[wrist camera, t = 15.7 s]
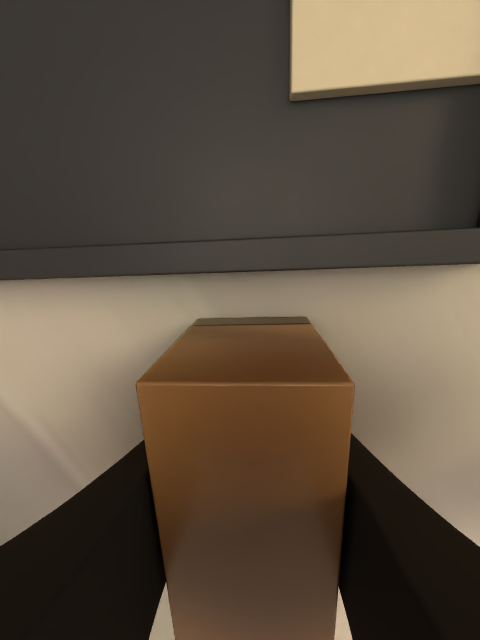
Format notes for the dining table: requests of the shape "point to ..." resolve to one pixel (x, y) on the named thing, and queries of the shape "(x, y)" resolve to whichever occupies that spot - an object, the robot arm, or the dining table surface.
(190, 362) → the eraser
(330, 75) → the paper scrap
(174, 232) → the tray
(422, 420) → the dining table surface
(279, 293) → the dining table surface
